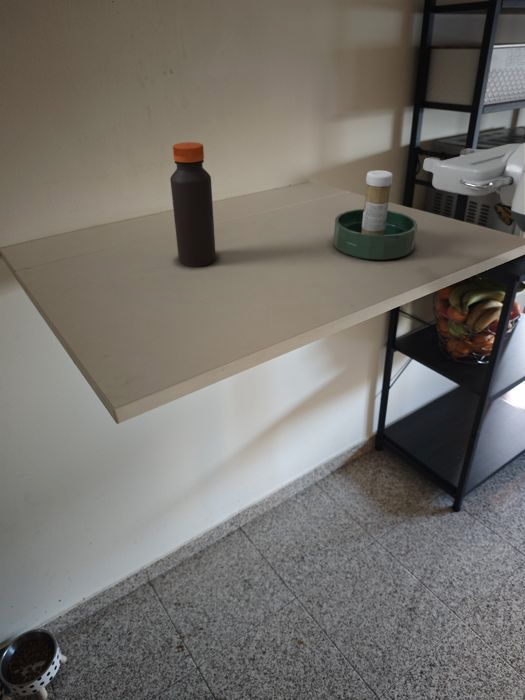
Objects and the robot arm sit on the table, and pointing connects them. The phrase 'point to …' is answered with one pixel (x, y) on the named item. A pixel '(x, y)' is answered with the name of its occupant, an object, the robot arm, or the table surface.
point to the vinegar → (192, 206)
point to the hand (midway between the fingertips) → (444, 158)
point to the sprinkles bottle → (376, 202)
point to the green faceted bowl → (375, 236)
